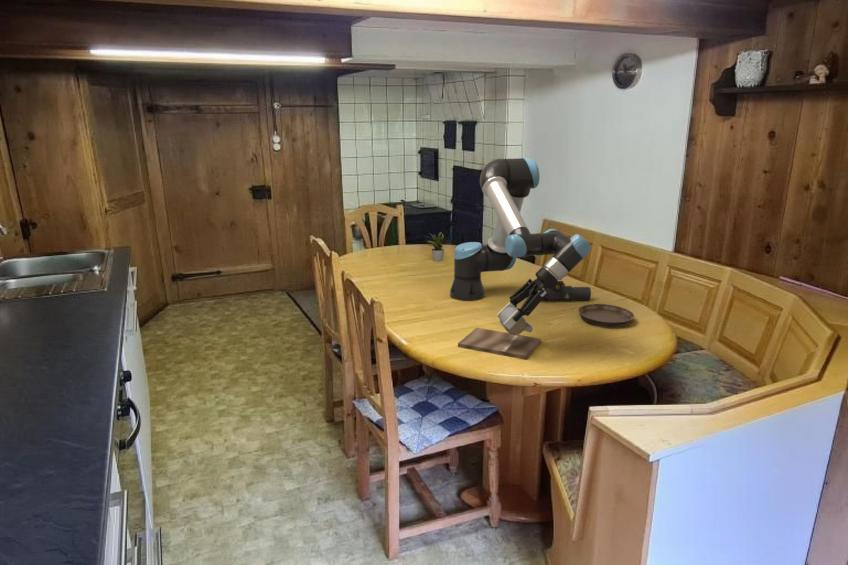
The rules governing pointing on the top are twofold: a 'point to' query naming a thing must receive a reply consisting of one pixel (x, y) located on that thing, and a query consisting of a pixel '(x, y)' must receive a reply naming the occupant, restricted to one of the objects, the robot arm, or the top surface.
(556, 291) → the laser sight
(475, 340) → the board
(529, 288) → the robot arm
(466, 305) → the top surface
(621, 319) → the plant saucer
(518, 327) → the ceramic mug
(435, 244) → the house plant
